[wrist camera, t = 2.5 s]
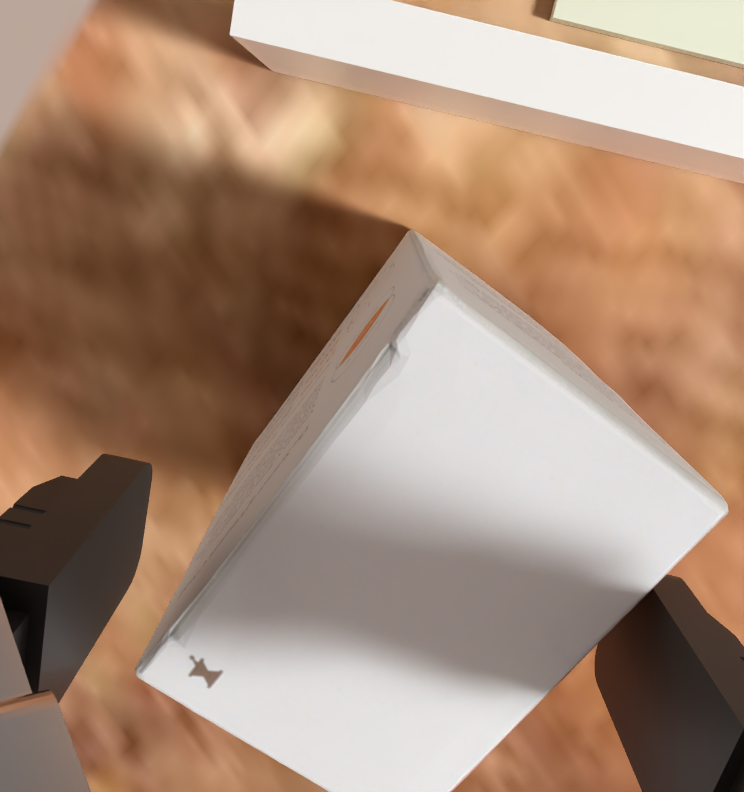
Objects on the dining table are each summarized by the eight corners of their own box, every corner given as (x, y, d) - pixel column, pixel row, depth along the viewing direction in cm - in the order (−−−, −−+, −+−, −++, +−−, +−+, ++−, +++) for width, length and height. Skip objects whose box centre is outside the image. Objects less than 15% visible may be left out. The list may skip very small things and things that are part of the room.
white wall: (1031, 201, 18) (1256, 212, 14) (1009, 247, 19) (1220, 273, 14) (280, 20, 17) (239, -38, 13) (272, 71, 18) (229, 35, 13)
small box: (397, 541, 22) (403, 854, 12) (249, 441, 21) (118, 687, 11) (569, 341, 20) (751, 516, 10) (411, 220, 19) (435, 276, 9)
